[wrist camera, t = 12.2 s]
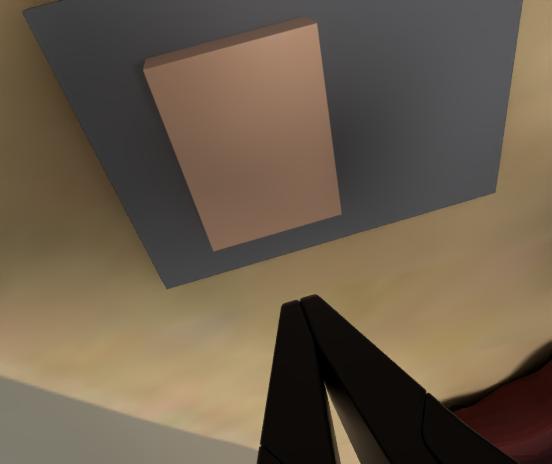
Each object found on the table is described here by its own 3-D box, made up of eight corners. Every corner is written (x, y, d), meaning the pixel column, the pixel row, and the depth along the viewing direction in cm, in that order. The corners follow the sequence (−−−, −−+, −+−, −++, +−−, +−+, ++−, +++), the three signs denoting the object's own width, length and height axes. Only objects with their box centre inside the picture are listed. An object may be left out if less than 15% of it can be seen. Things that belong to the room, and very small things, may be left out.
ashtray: (457, 469, 45) (484, 521, 41) (397, 418, 36) (425, 478, 32) (615, 389, 41) (662, 438, 37) (594, 309, 32) (654, 362, 28)
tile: (317, 23, 14) (143, 70, 14) (341, 214, 19) (213, 251, 18) (304, 16, 15) (145, 58, 15) (330, 196, 20) (210, 231, 20)
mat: (528, -123, 15) (540, -125, 14) (488, 187, 22) (495, 192, 22) (27, 9, 14) (21, 11, 13) (166, 281, 22) (166, 289, 21)
